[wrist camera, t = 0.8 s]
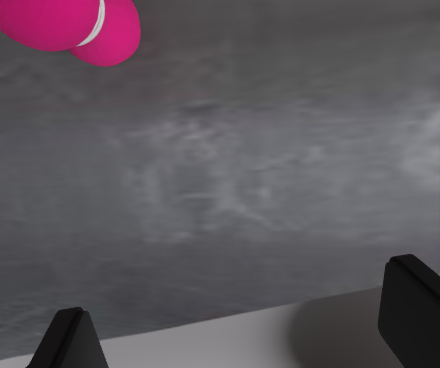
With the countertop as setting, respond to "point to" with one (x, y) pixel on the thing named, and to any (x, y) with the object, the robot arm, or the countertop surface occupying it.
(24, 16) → the pepper mill
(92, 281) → the countertop surface
